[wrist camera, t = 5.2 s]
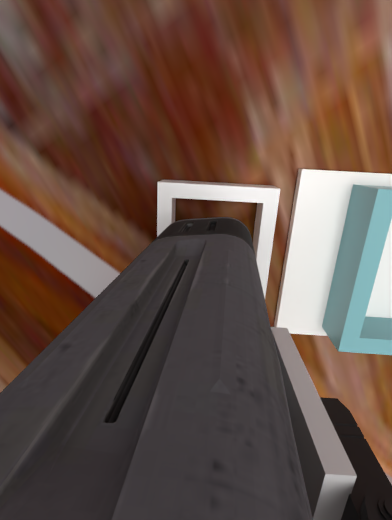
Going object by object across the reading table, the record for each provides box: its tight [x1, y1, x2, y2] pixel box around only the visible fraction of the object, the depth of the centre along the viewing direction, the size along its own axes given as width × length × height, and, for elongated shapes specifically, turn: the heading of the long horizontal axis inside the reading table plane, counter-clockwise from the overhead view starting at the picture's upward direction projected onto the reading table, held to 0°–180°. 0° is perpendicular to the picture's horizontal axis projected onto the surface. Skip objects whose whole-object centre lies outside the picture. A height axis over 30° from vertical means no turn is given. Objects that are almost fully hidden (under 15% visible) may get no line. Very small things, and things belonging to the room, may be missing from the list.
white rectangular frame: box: [157, 180, 280, 298], centre depth 27 cm, size 10×13×3 cm
